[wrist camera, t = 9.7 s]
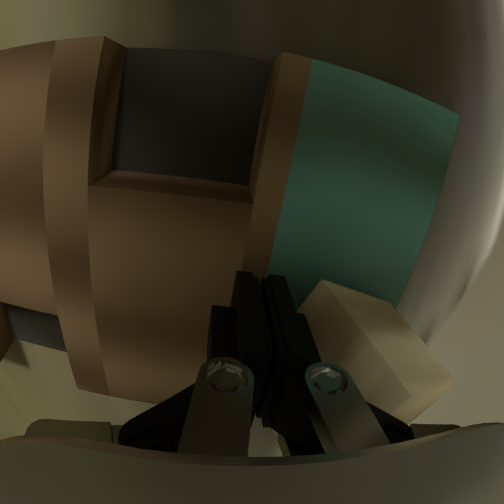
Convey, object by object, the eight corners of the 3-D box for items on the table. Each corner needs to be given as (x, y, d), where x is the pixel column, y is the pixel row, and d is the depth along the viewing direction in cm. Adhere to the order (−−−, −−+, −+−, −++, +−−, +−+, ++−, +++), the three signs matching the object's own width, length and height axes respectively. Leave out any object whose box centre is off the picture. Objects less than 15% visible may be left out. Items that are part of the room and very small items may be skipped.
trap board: (-77, 84, 8) (-108, 90, 5) (420, 109, 12) (459, 115, 10) (-49, 313, 15) (-68, 335, 13) (328, 376, 20) (340, 410, 17)
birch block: (321, 278, 11) (410, 395, 7) (388, 302, 13) (456, 381, 10) (245, 371, 12) (296, 478, 8) (322, 373, 15) (371, 451, 11)
